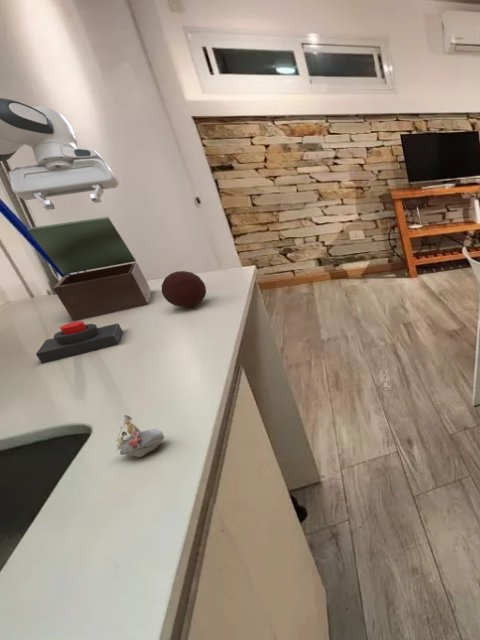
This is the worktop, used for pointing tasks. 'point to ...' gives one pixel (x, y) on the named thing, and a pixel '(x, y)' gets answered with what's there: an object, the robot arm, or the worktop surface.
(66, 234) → the chest lid
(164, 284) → the dark brown oval ball
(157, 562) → the worktop surface
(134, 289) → the chest
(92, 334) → the button box
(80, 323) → the button
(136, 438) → the figurine
